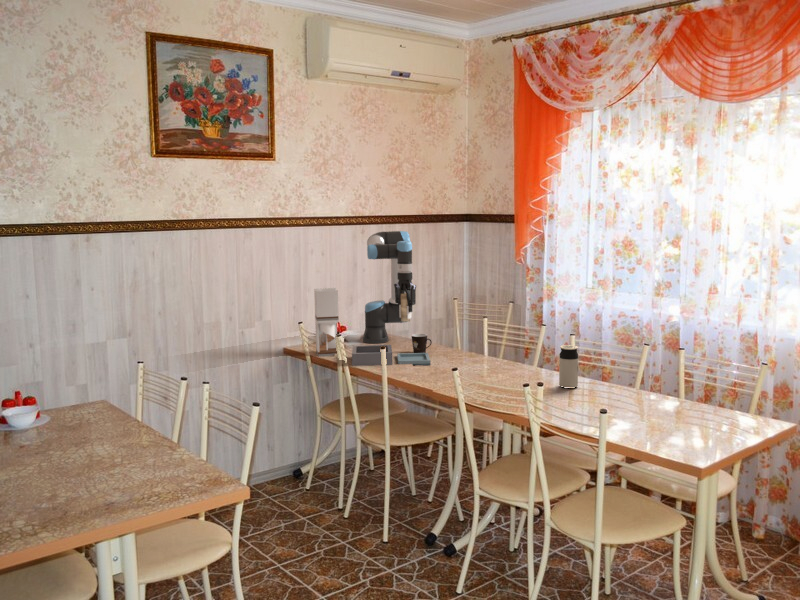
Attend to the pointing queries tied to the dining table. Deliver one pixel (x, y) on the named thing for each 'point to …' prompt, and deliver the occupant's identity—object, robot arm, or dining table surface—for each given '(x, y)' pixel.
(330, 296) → the white coffee grinder
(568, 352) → the travel mug
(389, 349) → the grey open bin
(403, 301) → the dowel pin
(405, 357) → the tray
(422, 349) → the coffee mug
